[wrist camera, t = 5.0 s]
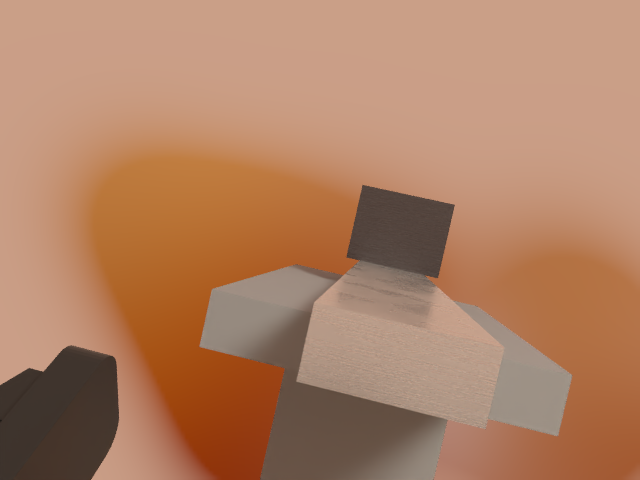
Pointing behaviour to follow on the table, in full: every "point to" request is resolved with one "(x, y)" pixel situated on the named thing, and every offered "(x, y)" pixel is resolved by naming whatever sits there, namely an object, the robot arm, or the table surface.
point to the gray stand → (354, 412)
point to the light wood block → (400, 319)
